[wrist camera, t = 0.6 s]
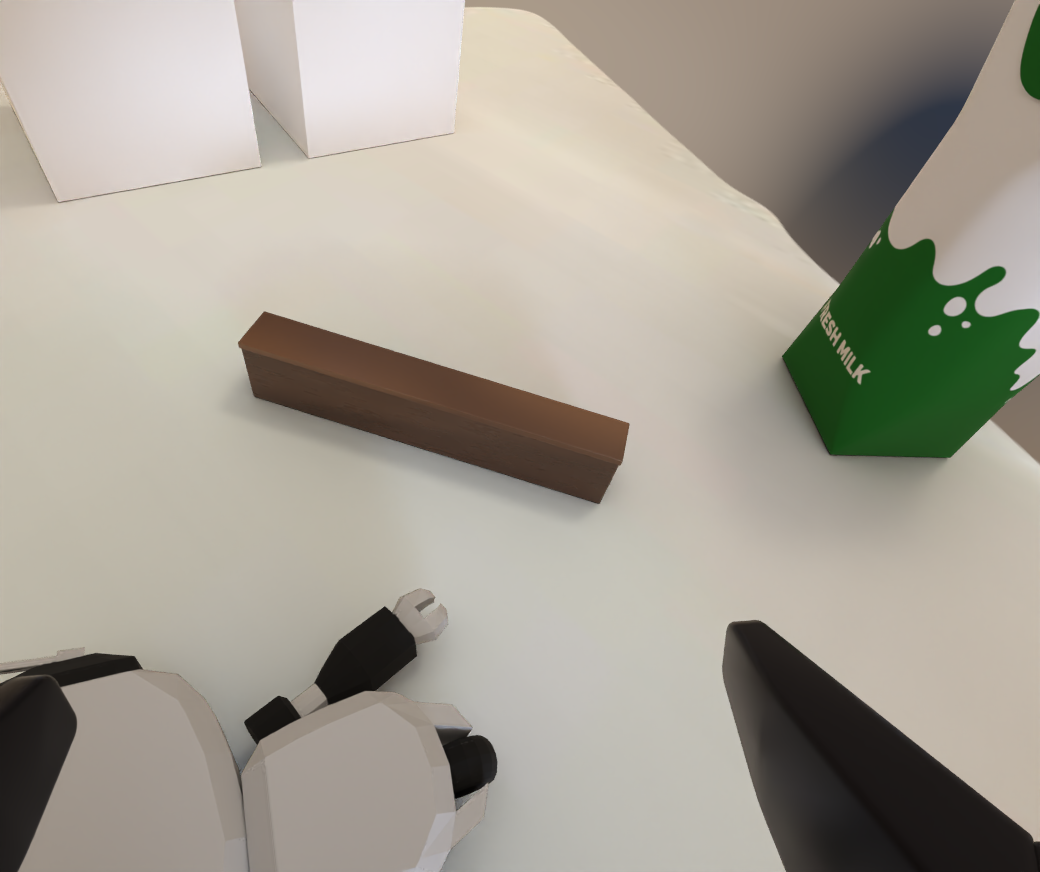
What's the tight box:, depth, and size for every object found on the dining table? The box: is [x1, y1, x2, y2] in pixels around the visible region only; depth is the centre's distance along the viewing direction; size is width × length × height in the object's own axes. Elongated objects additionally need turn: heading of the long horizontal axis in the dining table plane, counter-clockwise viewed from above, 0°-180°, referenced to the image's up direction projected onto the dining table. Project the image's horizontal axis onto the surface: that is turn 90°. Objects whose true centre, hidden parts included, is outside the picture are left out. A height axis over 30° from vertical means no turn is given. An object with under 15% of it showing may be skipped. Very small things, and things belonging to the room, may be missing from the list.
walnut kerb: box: [238, 312, 629, 503], centre depth 27 cm, size 2×16×3 cm, turn 75°
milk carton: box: [782, 0, 1040, 458], centre depth 26 cm, size 9×9×20 cm
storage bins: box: [0, 0, 465, 202], centre depth 37 cm, size 25×11×11 cm, turn 126°
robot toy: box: [0, 589, 497, 872], centre depth 16 cm, size 12×4×15 cm
